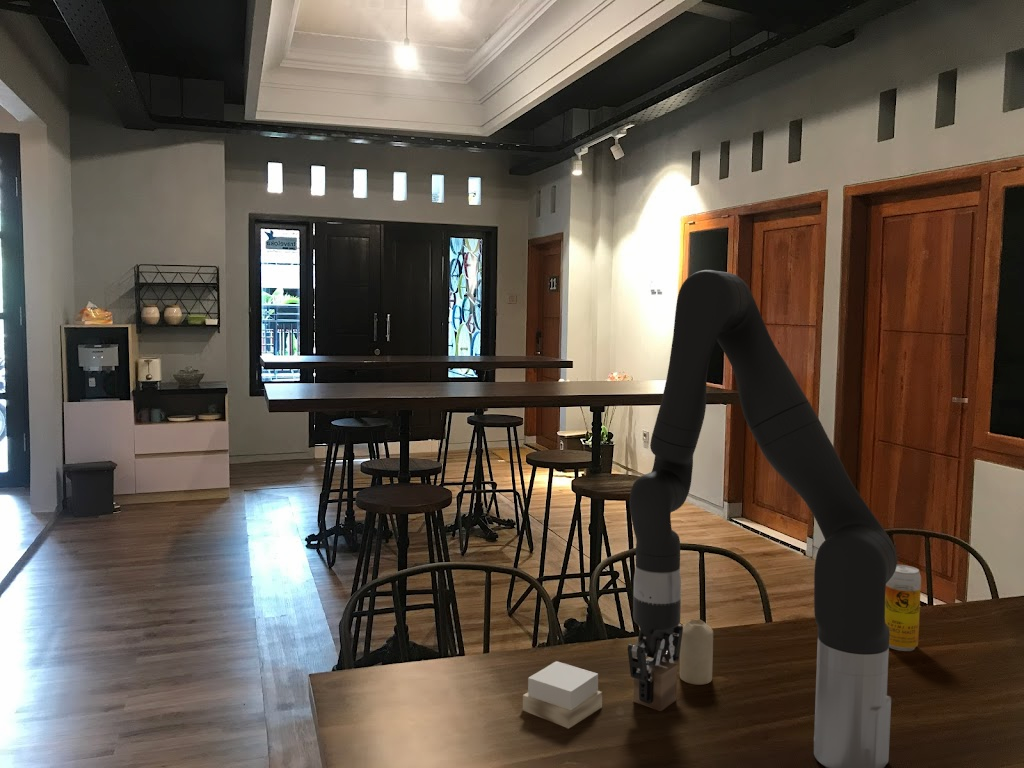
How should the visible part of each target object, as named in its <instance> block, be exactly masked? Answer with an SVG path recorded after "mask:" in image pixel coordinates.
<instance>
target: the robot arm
mask: <svg viewBox="0 0 1024 768" xmlns="http://www.w3.org/2000/svg"><path fill="white" fill-rule="evenodd" d="M675 305H676V306H675V313H674V321H673V322H674V323H673V325H674V326H673V335H672V342H671V348H670V349H671V350H670V356H669V363H668V369H667V373H666V380H665V385H664V389H663V394H662V397H661V401H660V406H659V409H658V412H657V415H656V416H657V417H656V419H655V423H654V426H653V431H652V433H651V434H652V435H651V438H650V445H649V446H650V451H651V452H652V454H653V455H654V460H653V467H652V468H651V469H652V470H651V472H649V473H645V474H644V475H641V476H639V477H638V478H637V479H635V481H634V482H633V484H632V486H631V489H630V494H629V501H628V503H629V512H630V517H631V521H632V523H631V524H632V527H633V532H634V535H635V539H636V540H635V541H636V543H635V566H634V567H635V569H634V575H633V596H632V598H633V599H632V601H633V606H632V607H633V608H632V609H633V611H632V612H633V613H632V617H633V618H632V619H633V621H634V622H635V624H636V625H637V626H638V627H639V634H638V637H637V642H636V643H635V644H633V643H629V644H627V656H628V663H629V671H630V677H631V679H634V678H635V679H638V680H639V699H640V701H642V702H645V703H648V704H650V703H652V702H653V679H654V672H655V668H656V667H658V666H659V663H660V660H664V661H667V662H669V663H673V664H675V662H677V663H678V661H680V648H681V640H682V633H683V625H682V624H680V623H681V606H682V603H681V602H682V601H681V600H682V577H681V540H680V536H679V534H678V533H677V532H676V531H675V530H673V528H672V522H671V521H672V520H671V513H673V512H675V511H677V510H679V509H680V508H681V507H682V506H683V505H684V503H685V502H686V500H687V498H688V496H689V494H690V489H691V485H692V479H693V478H692V477H693V476H692V475H693V466H694V453H695V451H696V448H697V445H698V441H699V438H700V435H701V432H702V427H703V425H704V420H705V415H706V410H707V380H708V370H709V365H710V361H711V355H712V353H713V350H714V347H715V346H716V342H717V343H718V345H719V347H721V349H722V351H723V354H725V356H726V358H727V359H728V362H729V364H730V365H731V368H732V370H733V374H734V376H735V377H734V378H735V382H736V387H737V393H738V397H739V402H740V406H741V410H742V414H743V416H744V419H745V422H746V424H747V426H748V429H749V431H750V432H751V434H752V436H753V438H754V439H755V442H756V444H757V445H758V447H759V448H760V450H761V453H762V454H763V456H764V457H765V459H766V461H767V462H768V463H769V464H770V465H771V467H772V468H773V469H774V470H775V471H776V472H777V474H778V475H780V477H782V478H783V480H784V481H785V482H786V483H787V484H788V485H789V486H790V487H791V488H792V489H793V490H794V491H795V492H796V493H797V495H799V497H800V498H802V500H803V501H804V502H805V504H806V506H807V507H808V509H809V510H810V512H811V514H812V515H813V517H814V520H815V521H816V523H817V525H818V528H819V529H820V531H821V535H822V536H823V538H824V541H823V542H822V543H821V545H820V546H819V547H818V550H817V553H816V557H815V562H814V577H813V579H814V581H813V583H814V585H813V588H814V590H813V591H814V592H813V594H814V595H813V599H814V600H813V601H814V602H813V603H814V604H813V607H814V609H813V610H814V611H813V613H814V618H815V622H816V625H817V644H816V645H817V647H816V648H817V650H816V677H815V702H814V703H815V705H814V728H813V729H814V730H813V731H814V732H813V733H814V735H813V755H814V758H815V759H816V761H817V762H819V764H821V765H822V766H824V767H825V768H885V767H886V765H887V764H888V763H889V757H890V755H889V754H890V737H891V734H890V733H891V716H892V715H891V713H892V712H891V711H892V710H891V709H892V708H891V707H892V697H891V696H890V695H888V679H889V678H888V676H889V675H888V673H889V670H888V669H889V653H890V651H889V650H890V647H889V634H890V633H889V628H888V626H887V624H886V623H885V591H886V583H887V582H888V581H889V580H890V578H891V577H892V576H893V574H894V572H895V570H896V566H897V565H898V556H897V555H898V554H897V551H896V547H895V545H894V543H893V541H892V539H891V538H890V536H889V535H888V533H887V532H886V530H885V528H883V526H882V525H881V523H880V522H879V520H878V519H877V517H876V516H875V514H873V512H872V510H871V509H870V508H869V506H868V505H867V503H866V502H865V500H864V499H863V497H862V496H861V494H860V493H859V491H858V490H857V489H856V487H855V484H853V481H852V480H851V478H850V476H849V474H848V473H847V470H846V468H845V466H844V464H843V463H842V461H841V458H840V456H839V454H838V453H837V451H836V449H835V447H834V446H833V444H832V442H831V440H830V438H829V436H828V434H827V432H826V431H825V428H824V426H823V424H822V422H821V420H820V419H819V416H818V415H817V413H816V411H815V410H814V407H813V406H812V404H811V403H810V401H809V399H808V398H807V396H806V395H805V393H804V392H803V390H802V388H801V386H800V385H799V383H798V381H797V379H796V377H795V376H794V375H793V373H792V371H791V369H790V367H789V365H788V364H787V362H786V361H785V359H784V358H783V356H782V355H781V353H780V351H779V350H778V348H777V346H776V345H775V343H774V341H773V339H772V337H771V335H770V333H769V331H768V328H767V326H766V324H765V321H764V319H763V316H762V315H761V312H760V310H759V308H758V305H757V303H756V300H755V298H754V295H753V294H752V291H751V289H750V287H749V286H748V284H747V283H746V282H745V281H744V280H743V279H742V278H741V277H739V276H738V275H736V274H734V273H731V272H727V271H719V270H713V269H704V270H699V271H696V272H694V273H693V274H690V275H689V276H688V277H687V278H686V279H685V280H684V281H683V283H682V284H681V287H680V288H679V292H678V296H677V300H676V304H675ZM648 657H651V658H654V659H653V661H651V660H648V659H647V658H648ZM647 665H648V666H649V672H647ZM637 668H638V671H637Z"/></svg>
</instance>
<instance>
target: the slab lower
mask: <svg viewBox="0 0 1024 768" xmlns="http://www.w3.org/2000/svg"><path fill="white" fill-rule="evenodd" d="M602 707H603V691H600V690H598V692H597V693H596V694H594V695H593V696H591V697H590V698H588V699H587V700H586V701H584V702H583V703H581V704H580V705H578V706H577V707H575V708H574V709H573V710H571V711H570V710H567V709H564V708H561V707H558V706H556V705H553V704H550V703H547V702H544V701H541V700H538V699H535V698H532V697H529V696H528V691H527V692H526V693H524V694H522V711H524V712H526V713H529V714H531V715H534V716H535V717H539V718H541V719H544V720H546V721H548V722H551V723H554V724H556V725H559V726H561V727H564V728H566V729H567V730H568V729H570V728H572V727H573V726H575V725H577V724H578V723H580V722H581V721H583V720H585V719H586V718H587V717H589V716H591V715H593V714H594V713H595V712H597V711H599V710H600V709H602Z"/></svg>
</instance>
